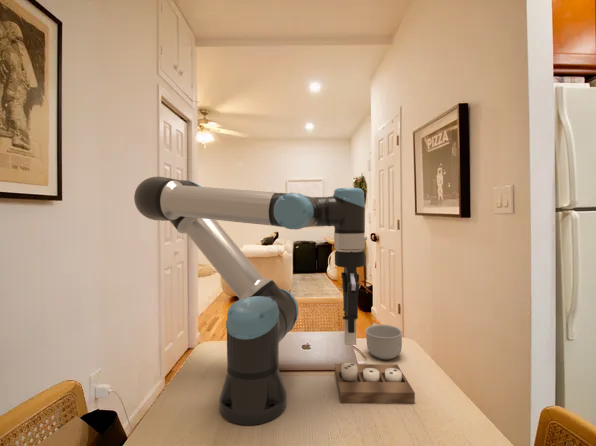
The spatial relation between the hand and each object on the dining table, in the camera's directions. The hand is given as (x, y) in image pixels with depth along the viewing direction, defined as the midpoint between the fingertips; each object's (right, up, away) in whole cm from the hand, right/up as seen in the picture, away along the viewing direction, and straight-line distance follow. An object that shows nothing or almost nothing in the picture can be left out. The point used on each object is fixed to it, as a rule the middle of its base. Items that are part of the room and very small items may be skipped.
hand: (350, 343), depth 81 cm
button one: (+5, -10, 0) cm, 11 cm away
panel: (+5, -11, 0) cm, 12 cm away
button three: (0, -9, 0) cm, 9 cm away
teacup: (+13, -11, +20) cm, 26 cm away
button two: (+11, -10, 0) cm, 15 cm away
